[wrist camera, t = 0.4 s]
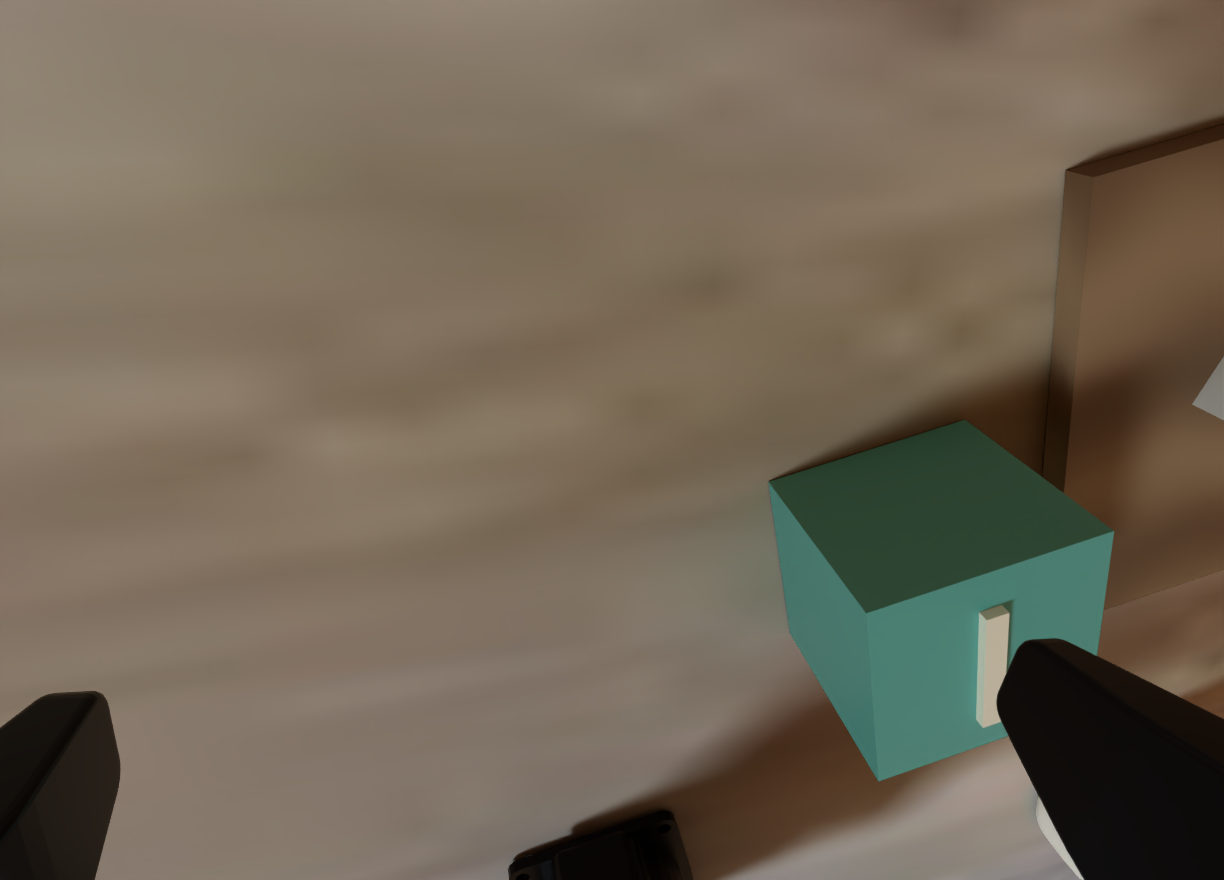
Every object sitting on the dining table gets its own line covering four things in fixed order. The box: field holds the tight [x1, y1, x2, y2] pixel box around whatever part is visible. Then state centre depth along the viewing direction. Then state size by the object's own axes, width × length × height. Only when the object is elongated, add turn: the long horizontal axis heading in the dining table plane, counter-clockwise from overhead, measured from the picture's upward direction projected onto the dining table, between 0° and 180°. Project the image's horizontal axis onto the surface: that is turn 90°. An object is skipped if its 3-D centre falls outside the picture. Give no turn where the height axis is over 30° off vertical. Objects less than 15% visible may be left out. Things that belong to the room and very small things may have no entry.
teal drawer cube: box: [768, 420, 1114, 782], centre depth 23 cm, size 6×6×6 cm
